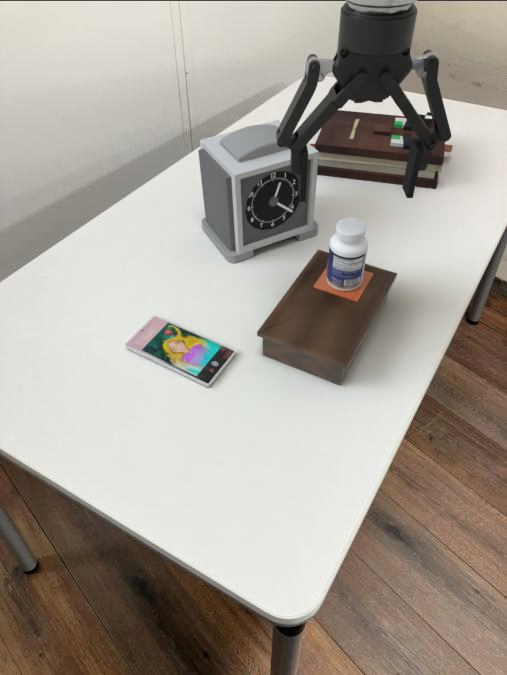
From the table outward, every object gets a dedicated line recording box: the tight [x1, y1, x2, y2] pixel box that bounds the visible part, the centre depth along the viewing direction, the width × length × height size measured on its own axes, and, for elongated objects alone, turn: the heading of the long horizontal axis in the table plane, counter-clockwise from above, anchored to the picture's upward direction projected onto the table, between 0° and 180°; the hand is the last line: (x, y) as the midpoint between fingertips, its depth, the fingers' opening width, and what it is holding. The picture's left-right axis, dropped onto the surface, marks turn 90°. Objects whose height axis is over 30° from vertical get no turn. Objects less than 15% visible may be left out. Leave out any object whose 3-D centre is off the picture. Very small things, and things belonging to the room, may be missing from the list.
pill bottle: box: [327, 217, 369, 291], centre depth 73 cm, size 5×5×10 cm
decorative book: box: [309, 109, 453, 190], centre depth 109 cm, size 19×8×30 cm
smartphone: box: [124, 315, 237, 388], centre depth 74 cm, size 7×1×15 cm
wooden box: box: [256, 249, 398, 386], centre depth 76 cm, size 13×21×5 cm, turn 151°
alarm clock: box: [197, 119, 319, 264], centre depth 88 cm, size 18×13×18 cm
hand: (354, 194), depth 66 cm, fingers open, 13 cm apart
